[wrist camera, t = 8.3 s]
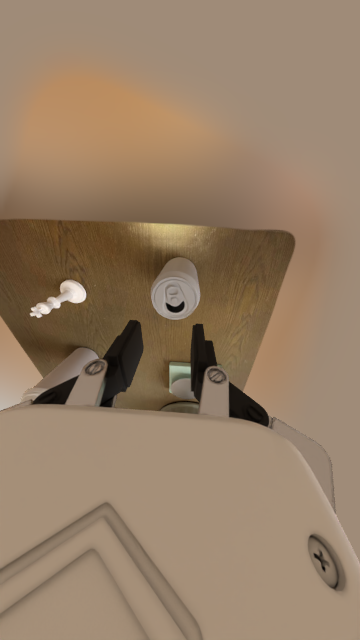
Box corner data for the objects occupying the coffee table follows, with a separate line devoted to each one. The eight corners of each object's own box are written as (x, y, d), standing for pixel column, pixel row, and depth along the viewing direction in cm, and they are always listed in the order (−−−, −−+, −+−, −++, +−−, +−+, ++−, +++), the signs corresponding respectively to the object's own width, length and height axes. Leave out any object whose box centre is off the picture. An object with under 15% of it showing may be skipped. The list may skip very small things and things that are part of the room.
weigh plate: (204, 379, 39) (205, 380, 39) (201, 399, 44) (201, 400, 44) (170, 376, 40) (170, 377, 39) (170, 396, 44) (170, 397, 44)
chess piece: (79, 278, 30) (35, 298, 22) (90, 300, 33) (55, 326, 24) (57, 281, 31) (6, 301, 22) (69, 303, 33) (28, 329, 25)
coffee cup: (62, 354, 42) (7, 410, 29) (79, 336, 38) (23, 391, 25) (93, 372, 45) (55, 429, 32) (111, 358, 42) (76, 416, 29)
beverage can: (166, 291, 31) (154, 324, 20) (160, 258, 27) (142, 276, 17) (197, 289, 30) (201, 320, 20) (195, 254, 27) (199, 270, 16)
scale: (224, 363, 40) (226, 372, 38) (216, 391, 47) (218, 401, 44) (169, 360, 41) (168, 368, 38) (170, 388, 47) (168, 397, 45)
